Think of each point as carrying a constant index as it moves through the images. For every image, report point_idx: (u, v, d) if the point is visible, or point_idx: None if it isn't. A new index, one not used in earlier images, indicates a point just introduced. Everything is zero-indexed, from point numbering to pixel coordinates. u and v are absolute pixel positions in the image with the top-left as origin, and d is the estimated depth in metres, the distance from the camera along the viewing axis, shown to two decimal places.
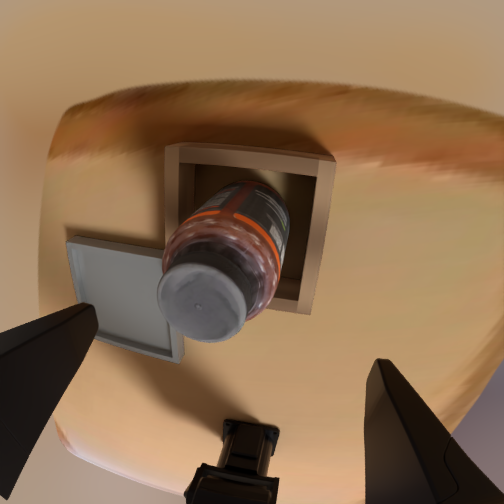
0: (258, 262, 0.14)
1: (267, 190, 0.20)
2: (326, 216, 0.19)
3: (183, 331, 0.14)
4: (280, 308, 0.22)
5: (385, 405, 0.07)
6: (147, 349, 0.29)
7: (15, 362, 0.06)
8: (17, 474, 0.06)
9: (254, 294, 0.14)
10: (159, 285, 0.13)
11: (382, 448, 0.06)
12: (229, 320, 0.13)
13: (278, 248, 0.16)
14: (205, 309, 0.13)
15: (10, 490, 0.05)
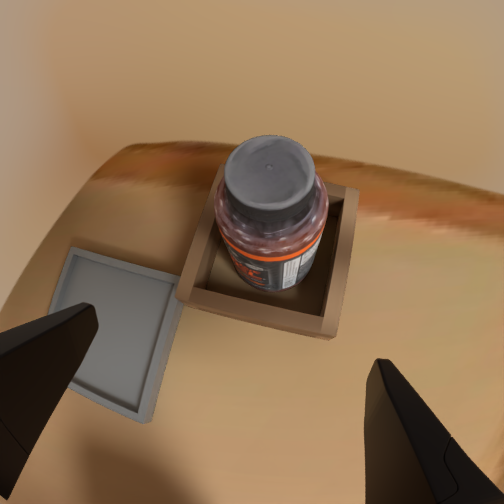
0: (315, 179, 0.16)
1: None
2: (352, 230, 0.21)
3: (242, 193, 0.13)
4: (302, 326, 0.19)
5: (385, 405, 0.07)
6: (106, 398, 0.20)
7: (15, 362, 0.06)
8: (17, 474, 0.06)
9: (312, 196, 0.15)
10: (234, 150, 0.14)
11: (382, 448, 0.06)
12: (297, 180, 0.13)
13: None
14: (276, 169, 0.13)
15: (10, 490, 0.05)
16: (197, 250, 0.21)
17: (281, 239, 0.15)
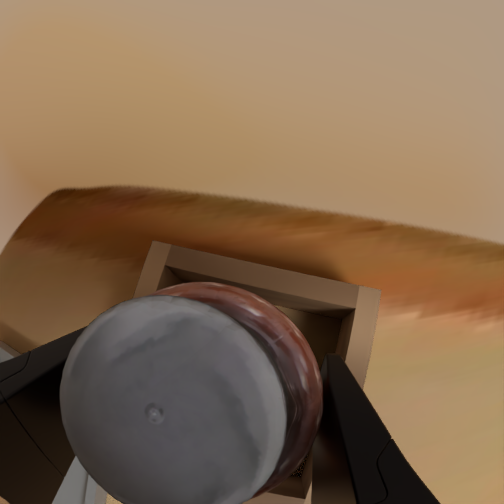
0: (298, 368, 0.06)
1: None
2: (364, 366, 0.12)
3: (98, 472, 0.04)
4: None
5: (327, 400, 0.07)
6: None
7: (52, 382, 0.06)
8: (51, 498, 0.05)
9: None
10: (78, 341, 0.05)
11: (323, 445, 0.06)
12: (231, 464, 0.04)
13: None
14: (173, 423, 0.04)
15: None
16: None
17: None
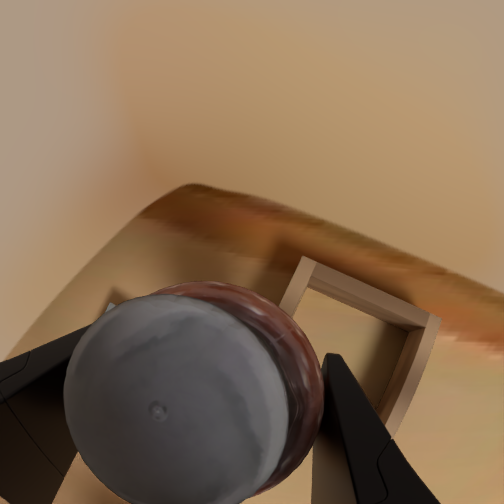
0: (299, 366, 0.06)
1: None
2: (424, 364, 0.17)
3: (102, 469, 0.04)
4: None
5: (327, 400, 0.07)
6: None
7: (52, 381, 0.06)
8: (51, 497, 0.05)
9: None
10: (82, 339, 0.05)
11: (323, 445, 0.06)
12: (234, 461, 0.04)
13: None
14: (176, 421, 0.04)
15: None
16: None
17: None
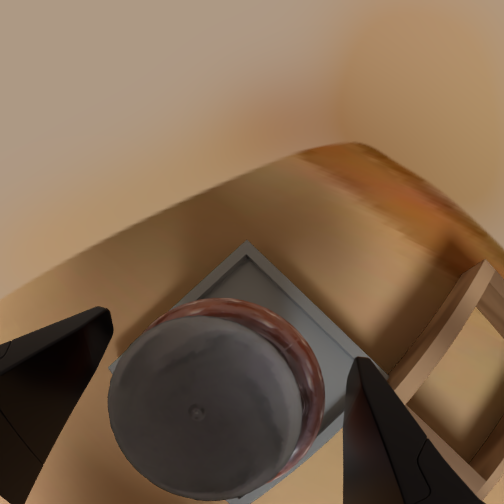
0: (304, 371, 0.08)
1: None
2: None
3: (145, 465, 0.05)
4: (469, 484, 0.10)
5: (361, 404, 0.07)
6: None
7: (30, 370, 0.06)
8: (30, 484, 0.06)
9: None
10: (125, 355, 0.06)
11: (358, 447, 0.06)
12: (260, 450, 0.05)
13: None
14: (212, 420, 0.05)
15: (24, 500, 0.05)
16: (430, 361, 0.13)
17: None
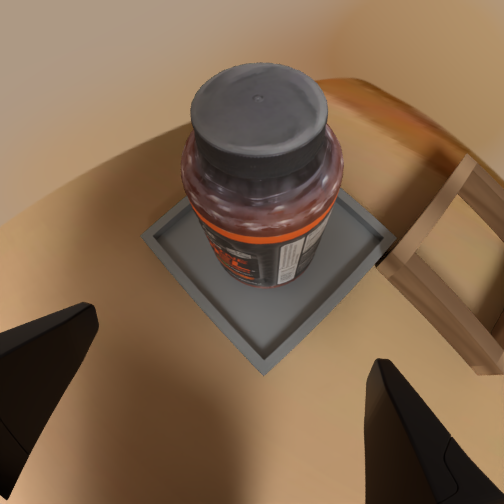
0: (325, 127, 0.10)
1: None
2: None
3: (217, 133, 0.08)
4: (488, 349, 0.14)
5: (385, 405, 0.07)
6: (228, 322, 0.17)
7: (15, 362, 0.06)
8: (17, 474, 0.06)
9: (322, 147, 0.10)
10: (208, 81, 0.09)
11: (382, 448, 0.06)
12: (302, 116, 0.08)
13: None
14: (268, 101, 0.08)
15: (10, 490, 0.05)
16: (430, 219, 0.16)
17: (277, 208, 0.10)
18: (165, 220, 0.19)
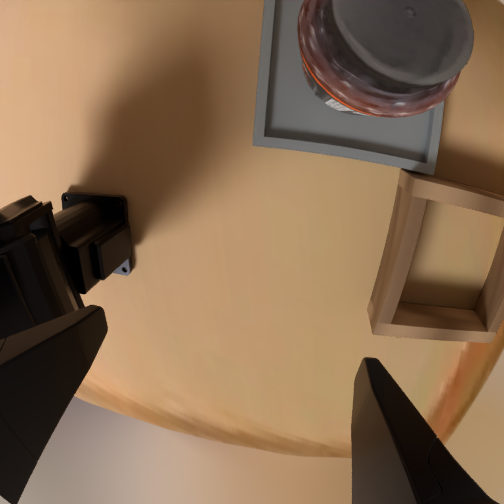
0: None
1: None
2: (460, 340, 0.19)
3: (345, 4, 0.06)
4: (384, 308, 0.19)
5: (371, 404, 0.07)
6: (268, 89, 0.17)
7: (24, 367, 0.06)
8: (25, 480, 0.06)
9: (424, 86, 0.08)
10: None
11: (368, 448, 0.06)
12: (422, 62, 0.06)
13: None
14: (414, 23, 0.05)
15: (18, 496, 0.05)
16: (463, 199, 0.15)
17: (345, 82, 0.08)
18: None
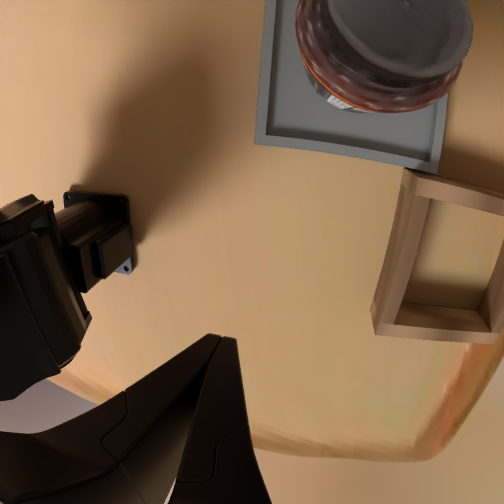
0: (451, 69, 0.07)
1: None
2: (463, 340, 0.19)
3: None
4: (387, 308, 0.19)
5: None
6: (269, 87, 0.16)
7: (158, 425, 0.06)
8: None
9: (424, 80, 0.07)
10: None
11: None
12: (419, 53, 0.06)
13: None
14: (411, 14, 0.05)
15: None
16: (467, 199, 0.15)
17: (343, 77, 0.08)
18: None
